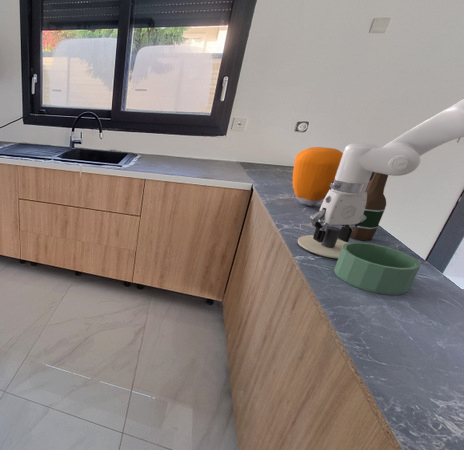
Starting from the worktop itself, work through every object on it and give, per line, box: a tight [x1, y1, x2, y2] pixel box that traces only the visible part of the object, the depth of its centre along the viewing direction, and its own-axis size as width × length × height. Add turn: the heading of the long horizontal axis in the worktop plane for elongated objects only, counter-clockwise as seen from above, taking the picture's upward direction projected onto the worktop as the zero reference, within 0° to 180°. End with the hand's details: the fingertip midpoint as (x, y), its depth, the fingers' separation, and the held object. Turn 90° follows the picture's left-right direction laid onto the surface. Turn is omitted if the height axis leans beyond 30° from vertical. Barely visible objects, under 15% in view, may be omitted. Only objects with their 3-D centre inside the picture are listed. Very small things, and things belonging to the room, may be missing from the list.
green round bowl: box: [333, 241, 421, 296], centre depth 82 cm, size 15×15×8 cm
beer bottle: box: [349, 172, 389, 242], centre depth 103 cm, size 8×8×24 cm
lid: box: [297, 225, 348, 260], centre depth 98 cm, size 16×16×7 cm
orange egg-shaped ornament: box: [292, 146, 343, 207], centre depth 132 cm, size 17×17×25 cm
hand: (330, 240), depth 98 cm, fingers open, 7 cm apart
